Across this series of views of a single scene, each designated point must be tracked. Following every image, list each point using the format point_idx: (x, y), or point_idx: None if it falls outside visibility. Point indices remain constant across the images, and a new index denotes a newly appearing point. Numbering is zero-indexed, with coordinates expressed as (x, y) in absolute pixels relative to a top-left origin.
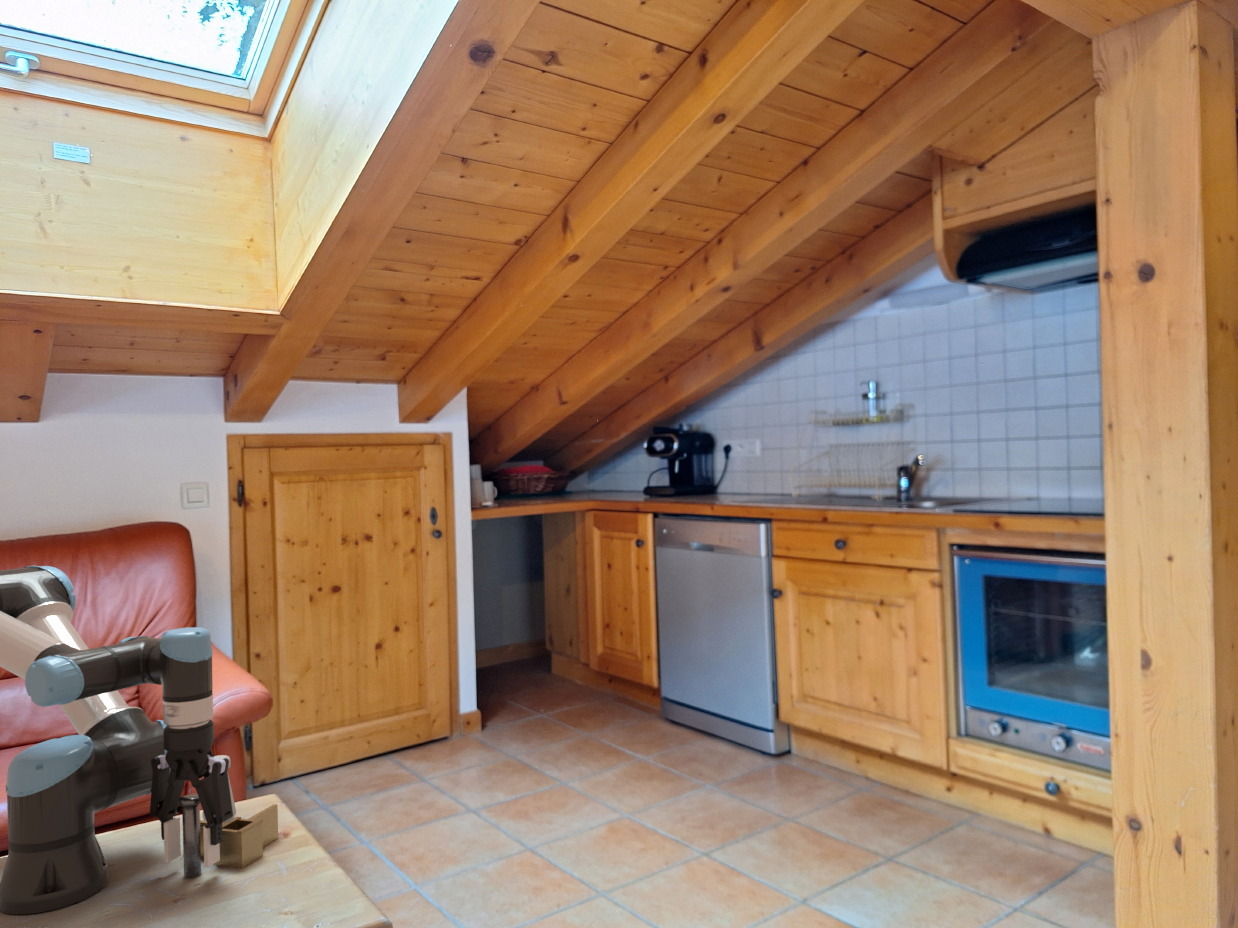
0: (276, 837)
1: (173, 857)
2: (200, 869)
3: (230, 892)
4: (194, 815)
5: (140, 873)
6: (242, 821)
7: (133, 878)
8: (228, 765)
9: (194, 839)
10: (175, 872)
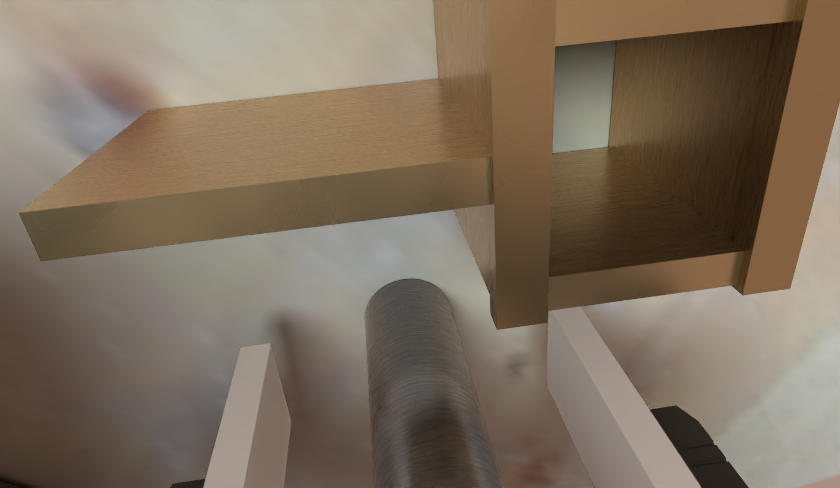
0: None
1: (281, 400)
2: (450, 313)
3: (723, 364)
4: None
5: (111, 396)
6: (605, 36)
7: (140, 437)
8: None
9: None
10: (287, 328)
